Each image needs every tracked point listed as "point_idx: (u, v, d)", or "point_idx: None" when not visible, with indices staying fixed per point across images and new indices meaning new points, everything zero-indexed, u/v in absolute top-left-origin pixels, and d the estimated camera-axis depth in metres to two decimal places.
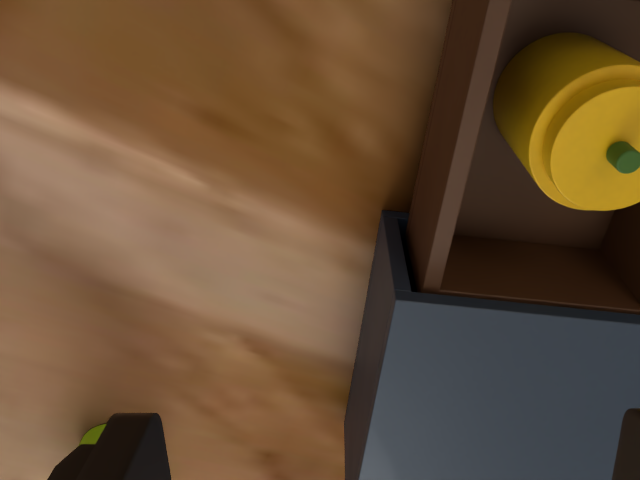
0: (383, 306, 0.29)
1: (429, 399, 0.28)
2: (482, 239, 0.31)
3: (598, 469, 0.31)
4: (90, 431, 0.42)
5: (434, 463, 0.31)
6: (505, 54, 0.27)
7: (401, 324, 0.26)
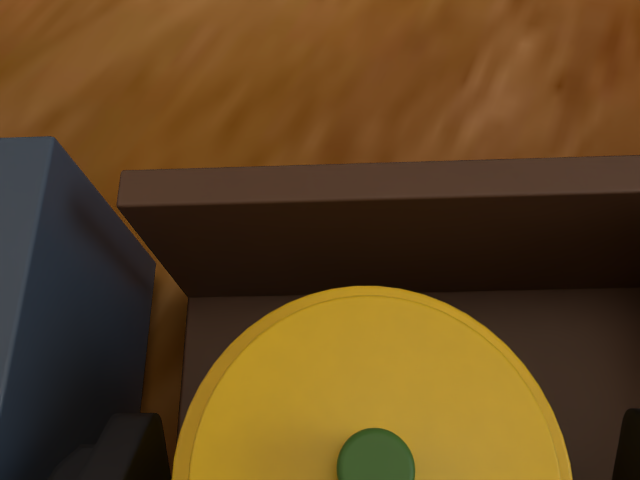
0: None
1: None
2: None
3: None
4: None
5: None
6: None
7: None
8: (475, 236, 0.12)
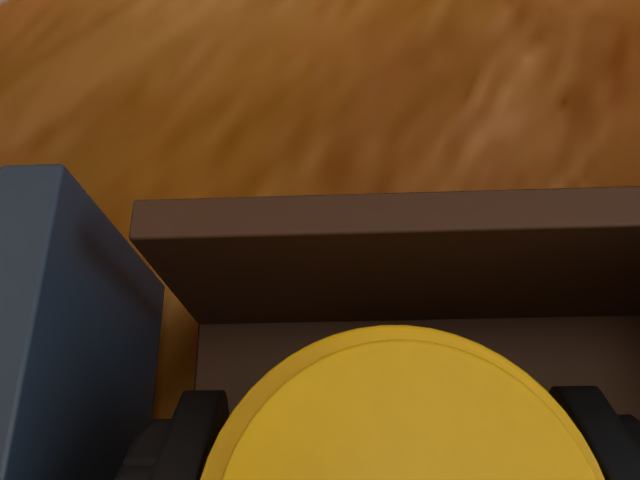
0: None
1: None
2: None
3: None
4: None
5: None
6: None
7: None
8: (503, 267, 0.12)
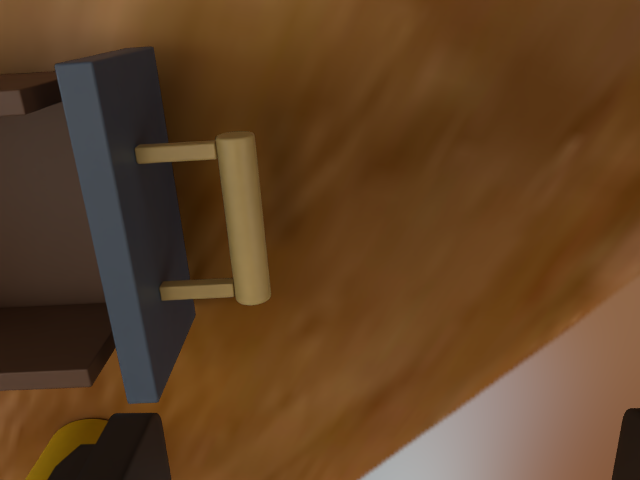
0: None
1: None
2: None
3: None
4: None
5: None
6: (31, 142, 0.25)
7: None
8: None
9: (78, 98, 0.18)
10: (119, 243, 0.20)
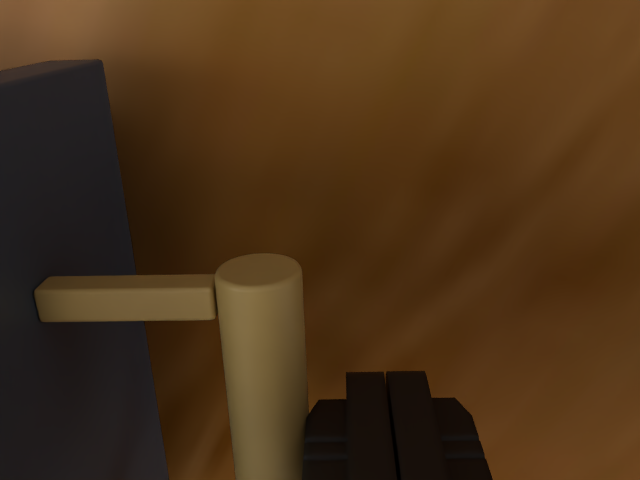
0: None
1: None
2: None
3: None
4: None
5: None
6: None
7: None
8: None
9: None
10: None
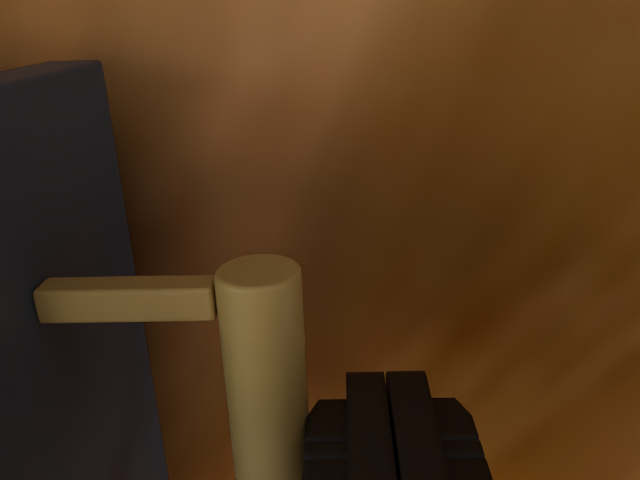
0: None
1: None
2: None
3: None
4: None
5: None
6: None
7: None
8: None
9: None
10: None
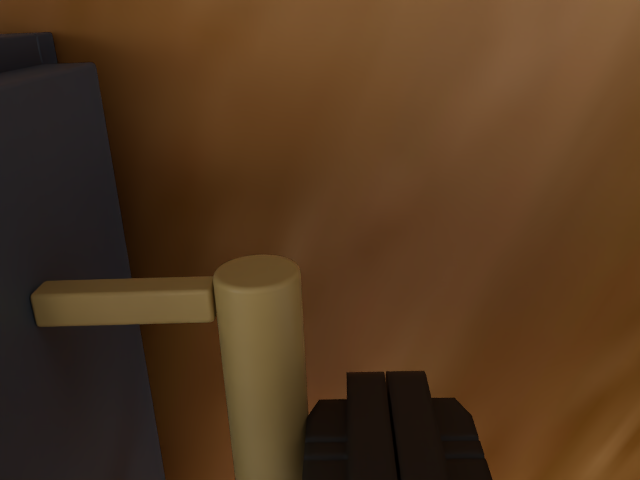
0: None
1: None
2: None
3: None
4: None
5: None
6: None
7: None
8: None
9: None
10: None
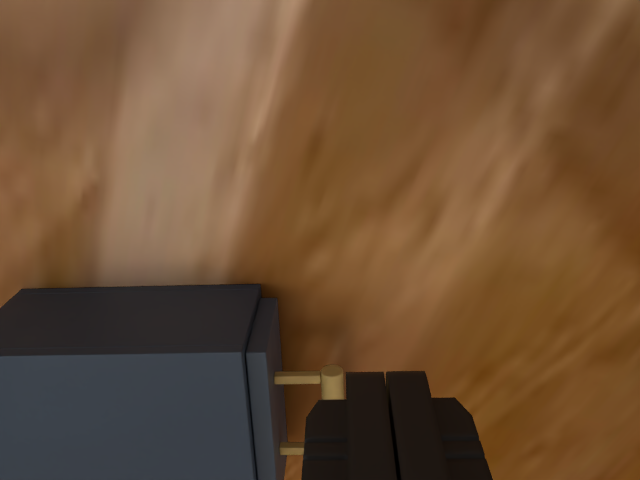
0: (211, 329, 0.35)
1: (148, 393, 0.34)
2: None
3: None
4: None
5: (76, 410, 0.34)
6: None
7: (219, 360, 0.33)
8: None
9: (256, 368, 0.34)
10: (268, 437, 0.36)
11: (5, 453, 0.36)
